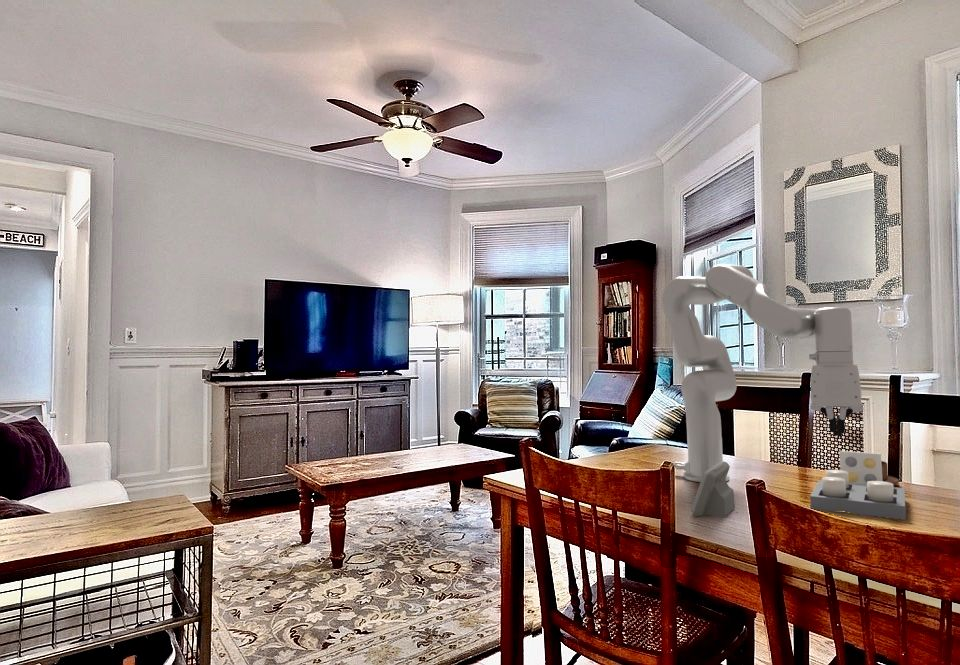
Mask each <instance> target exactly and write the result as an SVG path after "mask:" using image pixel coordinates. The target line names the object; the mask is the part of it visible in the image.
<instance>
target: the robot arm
mask: <svg viewBox="0 0 960 665" xmlns="http://www.w3.org/2000/svg"><path fill="white" fill-rule="evenodd" d="M768 289H769V288H768V286H767V285H766V284H765V283H764V282H761V281H760V280H758V279H756V278H754V275H753V272H752V271H751V270H750V269H749V268H748V267H746V266H743V265H742V264H741V265H740V264H729V263H720V264H715V265H713V266H712V267H709V269H708V270H707V272H706V273H705V276H692V275H682V276H677V277H674V278H672V279H671V280H669V281H668V282H667V283H666V285H665V286H664V288H663V291H662V294H661V299H660V300H661V308H662V311H663V314H664V318H665V319H666V321H667V325H668V327H669V331H670V335H671V339H672V342H673V346H674V348H675V352H676V355H677V359H678V361H679V363H680V364H681V365H682V366H684V367H687V368H700V367H701V368H702V370H695V371H691V372H690V373H687V374H686V375H685V376H684V378H683V379H682V382H681V388H680V389H681V390H680V391H681V394H682V398H683V403H684V409H685V418H686V419H685V423H686V441H687V461H685V462H681V461H675V462H674V465H675V466H674V465H673V466H674V469H676V470H683V471H684V472H683V479H685V480H688V481H690V482H695V483H696V482H697V483H700V482H701V479H702V477H703V474H704V473H705V472H706V471H707V470H709V469H710V468H711V467H713V466H714V465H716V464H717V463H719V462H724V458H723V457H724V456H723V437H722V419H721V413H720V411H719V408H718V406H717V403H716V402H722V401H727V400H730V399H731V398H732V397H733V396H735V393H736V391H737V389H738V388H737V387H738V386H737V379H736V375H735V370H734V368H733V365H732V361H731V359H730V355H729V352H728V349H727V347H726V344H725V342H723V341H722V340H721V339H720V338H719V337H717V336H715V335H711V334H710V335H709V334H706V335H705V334H703V332H702V329H701V326H700V322H699V318H698V317H697V316H696V315H695V312H693V310H692V309H691V308H690V305H697V306H698V305H700V306H701V305H702V306H705V305H707V306H708V305H712V304H716V303H720V302H722V301H725V300H726V301H728V302H730V303H732V304H733V305H735V306H736V307H738V308H740V309H742V310H743V311H744V312H745V314H746V315H747V316H748V318H749V319H750V320H751V321H752V322H753V323H754V324H756V325H757V326H759V327H760V328H762V329H763V330H766V331H767V332H769V333H771V334H772V335H774V336H775V337H779V338H781V339H787V340H791V339H792V340H793V339H795V340H796V339H801V340H802V339H812V338H814V340H815V352H814V353H810V354H809V355H808V357H809V360H810V361H815V364H812V368H811V373H810V374H811V376H810V401H811V404H810V410H813V411H815V412H819V413H822V414H823V415H824V416H825V417H827V419H828V421H829V433H832V435H833V437H840V438H841V437H842V435H843V434H845V433H846V431H845V430H846V429H845V426H846V425H845V419H846V418H848V417H849V416H850V415H851V414H854V413H862V412H863V411H864V407H863V402H862V385H861V378H860V372H859V368H858V364H854V350H853V330H852V329H853V327H852V326H853V324H852V323H853V322H852V312H851V310H850V308H848V307H845V306H843V307H842V306H833V307H829V306H828V307H820V308H818V309H817V308H797V307H796V308H793V307H792V308H789V307H788V306H785V305H783V304H782V303H779V302H777V301H776V300H774V299H772V298H771V297H769V296H768V292H769V291H768ZM833 408H840V409H839V415H838V416H837V418H836V415H835V412H834V409H833ZM729 480H730V474H727V476H726V479H725V481H726V482H727V481H729Z"/></svg>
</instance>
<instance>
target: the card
mask: <svg viewBox="0 0 960 665" xmlns="http://www.w3.org/2000/svg"><path fill="white" fill-rule="evenodd" d="M881 461H882V453H878V452H877V453H876V452H862V451H861V452H860V451H847V450H839V467H840V469H839V470H842V471H846V472H848V478H849V483H854V484H864V485H867V482H868V481H883V480H882V462H881Z"/></svg>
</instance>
